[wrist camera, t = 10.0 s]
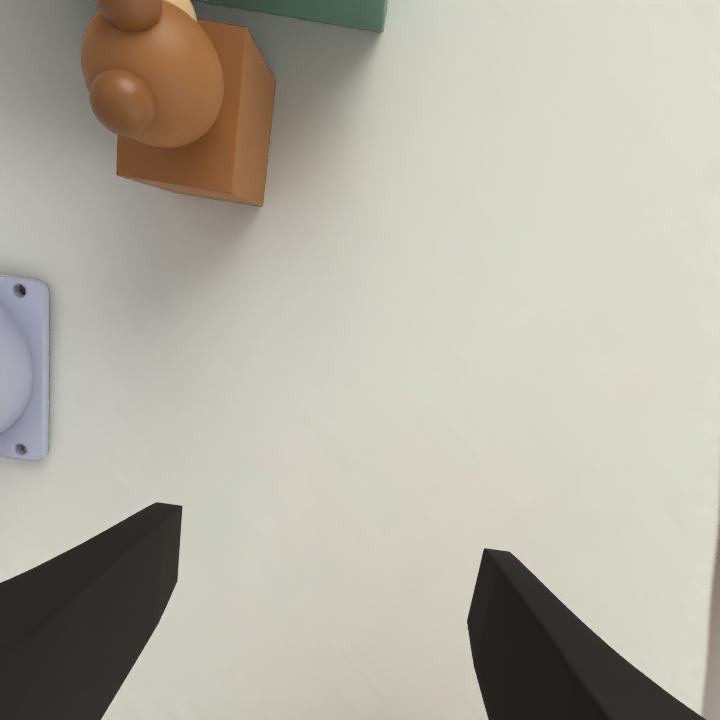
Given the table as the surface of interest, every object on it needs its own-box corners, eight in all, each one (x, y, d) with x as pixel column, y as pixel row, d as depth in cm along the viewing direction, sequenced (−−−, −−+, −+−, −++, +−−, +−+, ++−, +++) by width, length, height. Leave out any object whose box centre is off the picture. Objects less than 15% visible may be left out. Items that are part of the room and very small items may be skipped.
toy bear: (172, 192, 19) (25, 148, 11) (181, 51, 18) (24, -119, 10) (263, 207, 19) (185, 174, 11) (277, 67, 18) (202, -87, 10)
